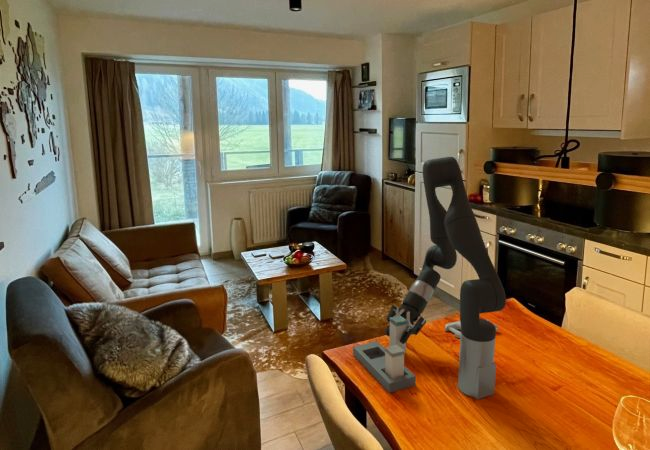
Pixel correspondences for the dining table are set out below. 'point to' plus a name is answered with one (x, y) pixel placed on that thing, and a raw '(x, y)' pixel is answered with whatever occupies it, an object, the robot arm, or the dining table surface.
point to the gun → (457, 325)
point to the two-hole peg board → (385, 365)
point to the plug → (397, 331)
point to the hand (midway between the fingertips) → (394, 338)
